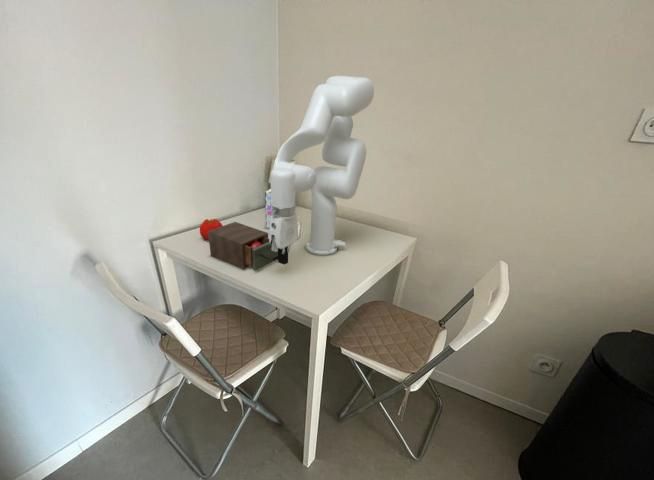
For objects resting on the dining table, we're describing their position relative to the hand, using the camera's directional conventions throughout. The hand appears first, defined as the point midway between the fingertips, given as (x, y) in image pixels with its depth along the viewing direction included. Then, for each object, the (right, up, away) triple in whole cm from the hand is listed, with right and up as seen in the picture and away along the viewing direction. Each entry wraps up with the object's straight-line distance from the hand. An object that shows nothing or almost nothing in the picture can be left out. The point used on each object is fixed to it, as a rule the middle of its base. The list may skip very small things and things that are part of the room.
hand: (283, 262), depth 118 cm
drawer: (-10, +1, +7) cm, 13 cm away
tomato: (-32, +12, +24) cm, 42 cm away
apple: (-11, +3, +7) cm, 14 cm away
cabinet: (-17, +4, +12) cm, 21 cm away
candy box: (-7, +22, +42) cm, 48 cm away
